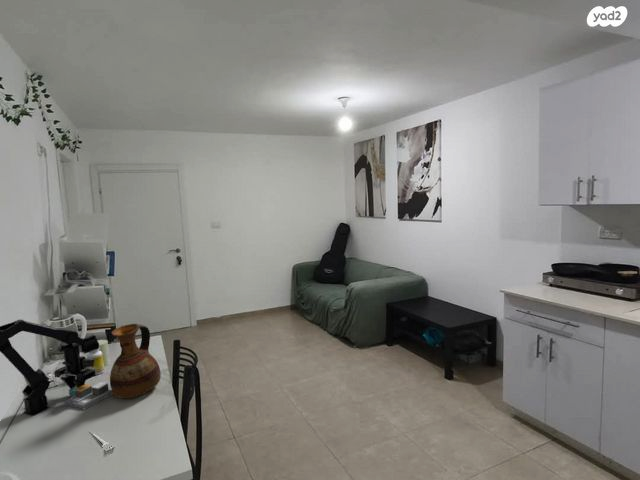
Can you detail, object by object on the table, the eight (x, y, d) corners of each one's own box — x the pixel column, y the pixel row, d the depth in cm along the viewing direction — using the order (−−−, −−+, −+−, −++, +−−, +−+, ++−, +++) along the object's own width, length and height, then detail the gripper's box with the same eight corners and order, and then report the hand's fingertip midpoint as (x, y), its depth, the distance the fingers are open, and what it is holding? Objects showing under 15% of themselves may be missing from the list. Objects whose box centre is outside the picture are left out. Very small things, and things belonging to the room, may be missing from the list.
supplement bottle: (107, 369, 192) (104, 345, 191) (98, 375, 186) (95, 350, 184) (95, 369, 193) (92, 345, 192) (85, 375, 186) (82, 350, 185)
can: (91, 362, 202) (88, 341, 201) (110, 359, 206) (108, 337, 204) (88, 369, 194) (86, 346, 192) (109, 365, 197) (106, 343, 196)
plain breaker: (99, 395, 162) (98, 388, 161) (92, 394, 163) (91, 386, 163) (108, 390, 166) (107, 383, 166) (102, 389, 167) (101, 381, 167)
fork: (94, 430, 141) (93, 426, 141) (118, 450, 128) (117, 444, 128) (84, 435, 138) (84, 430, 138) (107, 455, 126) (107, 450, 125)
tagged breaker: (82, 398, 160) (81, 390, 160) (75, 396, 162) (74, 389, 162) (92, 393, 164) (91, 385, 164) (85, 391, 166) (84, 384, 166)
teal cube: (75, 398, 164) (75, 390, 164) (69, 397, 166) (68, 389, 166) (84, 394, 168) (83, 386, 168) (78, 392, 170) (77, 385, 169)
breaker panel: (84, 409, 155) (84, 404, 155) (64, 404, 160) (64, 399, 159) (112, 393, 167) (112, 388, 167) (93, 389, 172) (93, 385, 171)
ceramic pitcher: (100, 399, 162) (92, 331, 159) (136, 377, 181) (129, 316, 178) (138, 404, 156) (130, 334, 153) (171, 381, 175) (164, 318, 172)
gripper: (104, 351, 169) (109, 385, 171) (75, 348, 177) (81, 380, 178) (80, 362, 159) (85, 398, 161) (50, 358, 166) (56, 392, 168)
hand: (77, 391), depth 167 cm, fingers open, 4 cm apart
